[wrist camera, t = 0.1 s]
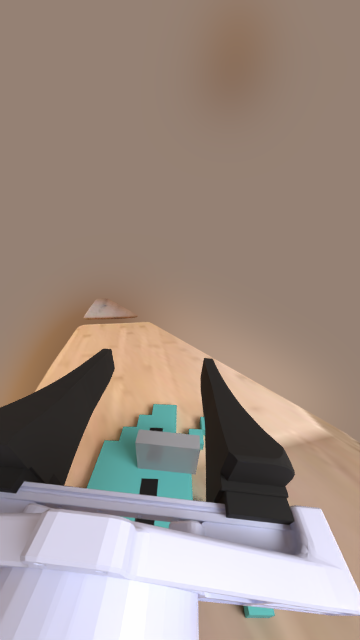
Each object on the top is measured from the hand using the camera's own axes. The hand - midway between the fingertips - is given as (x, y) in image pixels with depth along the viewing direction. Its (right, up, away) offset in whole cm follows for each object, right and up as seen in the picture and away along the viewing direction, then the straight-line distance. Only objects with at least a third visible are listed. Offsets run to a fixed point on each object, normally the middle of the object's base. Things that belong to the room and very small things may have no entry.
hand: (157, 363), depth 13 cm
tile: (0, -17, +11) cm, 20 cm away
